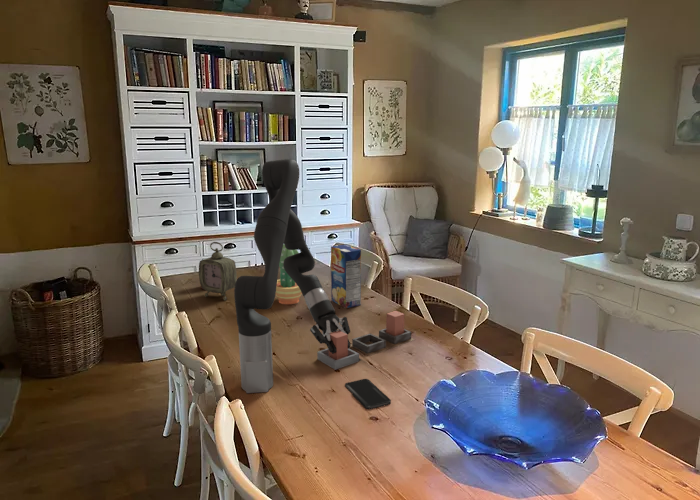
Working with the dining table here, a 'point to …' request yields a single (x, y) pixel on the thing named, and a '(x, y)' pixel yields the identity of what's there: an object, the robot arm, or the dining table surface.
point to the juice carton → (346, 275)
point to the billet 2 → (395, 323)
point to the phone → (367, 393)
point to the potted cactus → (287, 282)
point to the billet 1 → (339, 345)
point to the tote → (339, 363)
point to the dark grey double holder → (380, 341)
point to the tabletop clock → (217, 273)
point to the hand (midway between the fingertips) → (341, 350)
